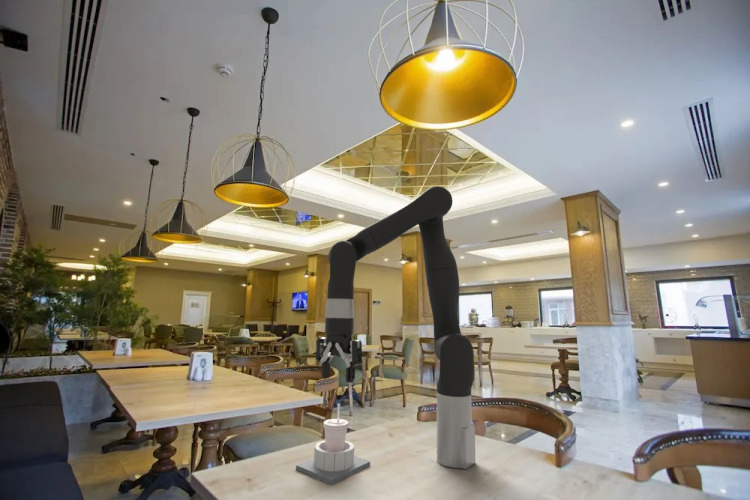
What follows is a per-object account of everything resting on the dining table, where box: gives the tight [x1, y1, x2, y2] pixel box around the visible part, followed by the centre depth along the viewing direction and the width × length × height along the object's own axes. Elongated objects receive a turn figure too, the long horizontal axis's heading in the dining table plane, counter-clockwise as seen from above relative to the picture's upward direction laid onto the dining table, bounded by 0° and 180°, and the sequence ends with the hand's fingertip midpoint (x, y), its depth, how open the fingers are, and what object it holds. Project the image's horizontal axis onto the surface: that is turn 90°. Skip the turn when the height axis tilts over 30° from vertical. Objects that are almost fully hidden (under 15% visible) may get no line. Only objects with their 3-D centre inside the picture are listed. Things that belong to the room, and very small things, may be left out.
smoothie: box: [322, 403, 349, 452], centre depth 93 cm, size 6×6×14 cm
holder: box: [295, 440, 371, 485], centre depth 92 cm, size 12×14×5 cm
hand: (337, 380), depth 95 cm, fingers open, 8 cm apart
